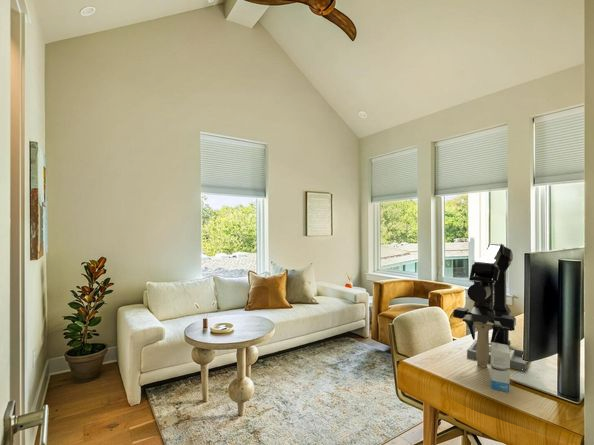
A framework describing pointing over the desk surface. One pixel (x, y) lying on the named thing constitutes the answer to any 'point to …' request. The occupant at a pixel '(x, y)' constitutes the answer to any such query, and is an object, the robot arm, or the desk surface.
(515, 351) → the walled box
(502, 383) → the ink box
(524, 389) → the desk surface
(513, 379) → the desk surface
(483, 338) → the handle
